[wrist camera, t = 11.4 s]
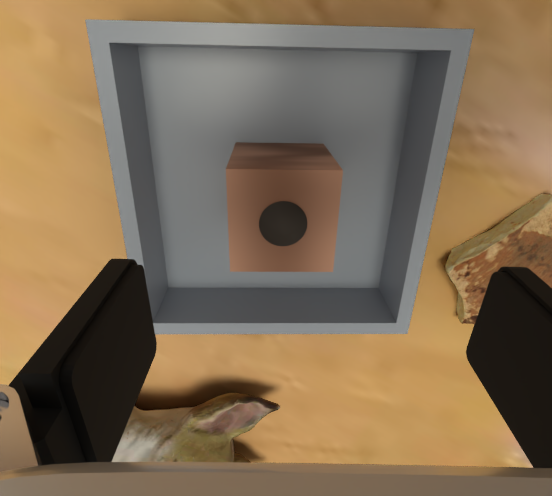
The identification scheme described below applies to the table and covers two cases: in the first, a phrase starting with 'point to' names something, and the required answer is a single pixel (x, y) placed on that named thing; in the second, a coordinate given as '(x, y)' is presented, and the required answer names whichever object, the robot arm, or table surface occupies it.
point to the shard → (502, 254)
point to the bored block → (282, 207)
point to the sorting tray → (277, 129)
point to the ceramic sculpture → (192, 431)
